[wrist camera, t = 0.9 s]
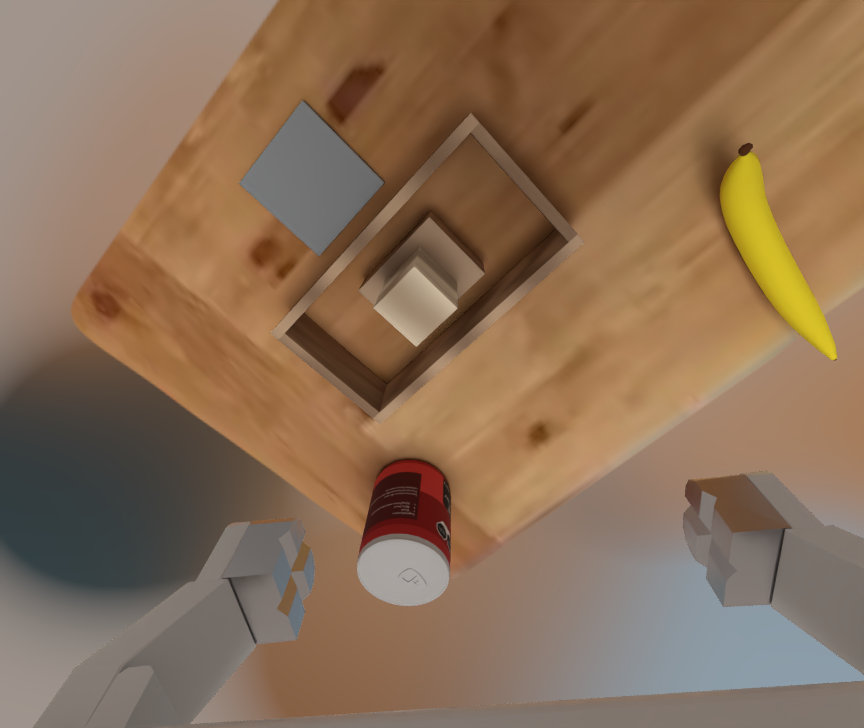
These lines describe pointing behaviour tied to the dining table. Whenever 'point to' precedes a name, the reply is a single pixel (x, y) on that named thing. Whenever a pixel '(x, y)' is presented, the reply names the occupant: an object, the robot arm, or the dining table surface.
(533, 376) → the dining table surface
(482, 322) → the crate
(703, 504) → the robot arm
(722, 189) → the banana
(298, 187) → the mat
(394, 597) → the canned food
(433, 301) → the block
